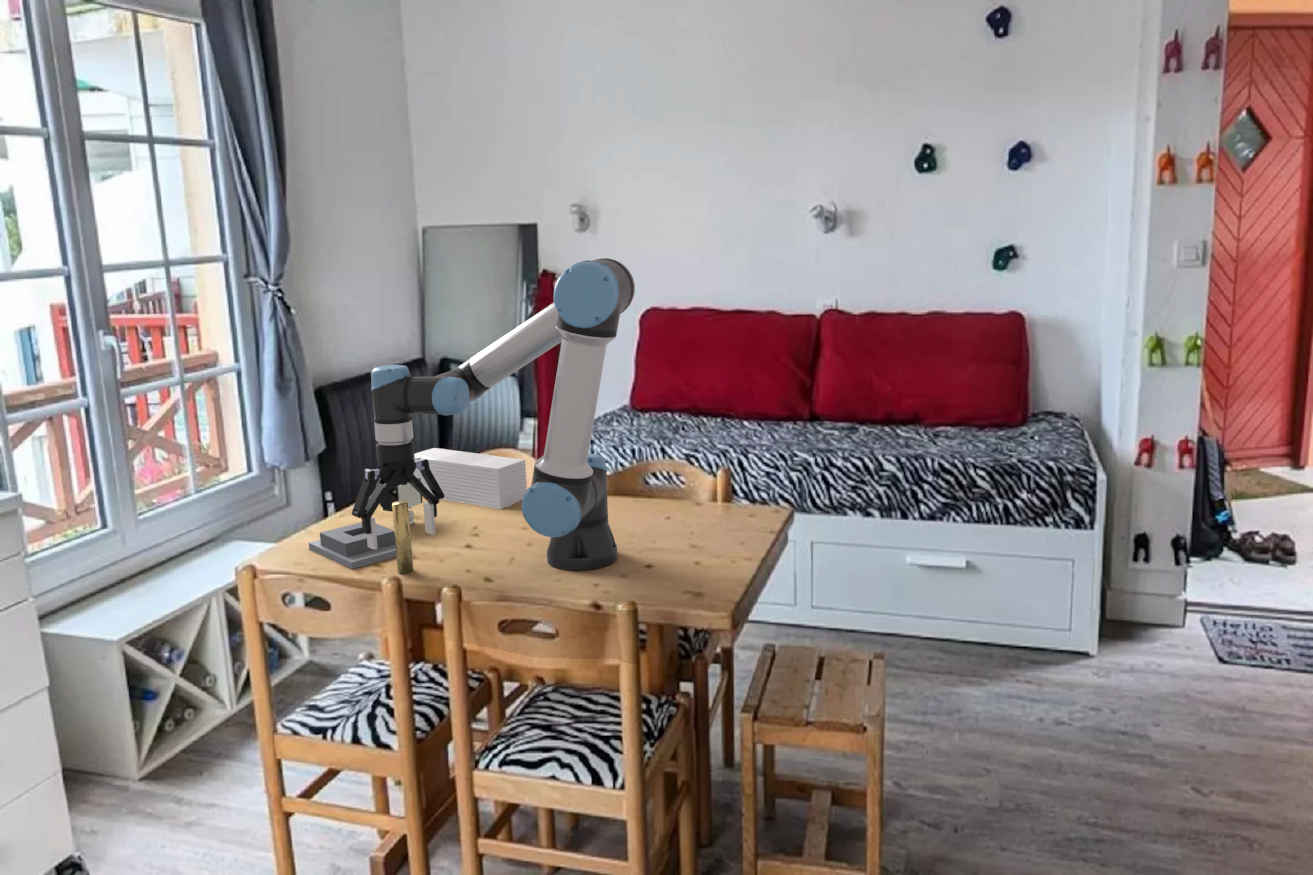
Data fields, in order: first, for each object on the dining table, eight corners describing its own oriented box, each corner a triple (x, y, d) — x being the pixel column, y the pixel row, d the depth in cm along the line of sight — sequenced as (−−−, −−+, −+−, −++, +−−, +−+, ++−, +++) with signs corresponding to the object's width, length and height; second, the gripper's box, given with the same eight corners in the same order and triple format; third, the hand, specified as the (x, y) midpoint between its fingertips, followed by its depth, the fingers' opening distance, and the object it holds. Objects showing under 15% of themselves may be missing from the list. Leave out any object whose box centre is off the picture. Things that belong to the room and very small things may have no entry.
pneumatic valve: (427, 519, 254) (424, 472, 252) (395, 533, 244) (391, 484, 241) (410, 517, 257) (406, 470, 254) (377, 530, 246) (373, 481, 244)
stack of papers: (409, 494, 278) (406, 455, 276) (437, 485, 287) (434, 447, 285) (500, 510, 261) (498, 468, 259) (527, 499, 270) (525, 459, 268)
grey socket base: (410, 553, 229) (408, 533, 228) (352, 569, 220) (350, 548, 219) (365, 534, 244) (363, 516, 243) (309, 549, 234) (307, 530, 233)
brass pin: (416, 571, 218) (410, 502, 214) (402, 575, 215) (397, 505, 212) (408, 567, 220) (402, 499, 217) (395, 571, 218) (389, 503, 214)
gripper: (437, 428, 223) (443, 523, 227) (329, 448, 206) (338, 550, 210) (456, 433, 217) (462, 530, 222) (347, 454, 201) (356, 558, 205)
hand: (402, 540), depth 216 cm, fingers open, 13 cm apart
